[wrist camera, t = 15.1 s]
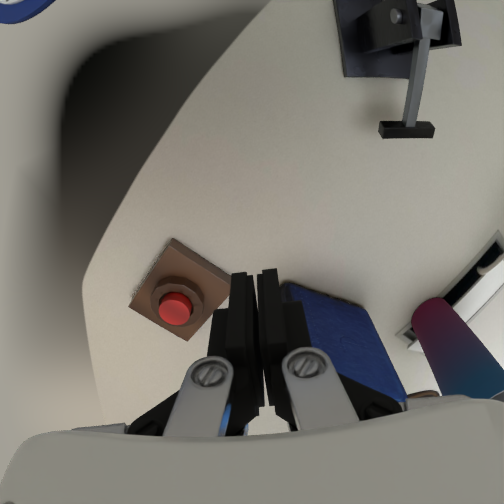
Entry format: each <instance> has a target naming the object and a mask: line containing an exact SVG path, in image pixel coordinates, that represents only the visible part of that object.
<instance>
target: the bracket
mask: <svg viewBox="0 0 504 504" xmlns="http://www.w3.org/2000/svg"><path fill="white" fill-rule="evenodd" d="M333 3H334V9H335V14H336V20H337V27H338V33H339V40H340V47H341V54H342V62H343V70H344V77H381V78H404V79H409V77H410V71H411V63H412V56H413V47H414V41H417V40H421V39H423V35H422V29H421V23H420V17H419V11H418V6H417V1H416V0H333ZM426 5H430V6H432V7H434V8H436V9H438V10H440V11H442V12H443V20H442V29H441V36H440V40H436V39H430V46H429V50H434V49H441V48H448V47H456V46H462V43H461V36H460V30H459V24H458V18H457V13H456V8H455V3H454V0H437V1H434V2H432V3H429V4H426Z"/></svg>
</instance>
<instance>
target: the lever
mask: <svg viewBox="0 0 504 504" xmlns="http://www.w3.org/2000/svg"><path fill="white" fill-rule="evenodd" d="M417 6H418V11H419V17H420V23H421V29H422V35H423V39H421V40H417V41H414V47H413V56H412V63H411V71H410V77H409V84H408V90H407V96H406V102H405V108H404V113H403V119H402V121H380V123H379V130H378V132H379V133H380V135H381V137H382V138H383V139H389V138H433V135H434V131H435V127H434V126H433V125H432V124H431V122H428V121H416V120H417V115H418V110H419V105H420V100H421V95H422V90H423V84H424V79H425V73H426V67H427V60H428V54H429V46H430V39H436V40H440V36H441V29H442V20H443V12H442V11H440V10H438V9H436V8H434V7H432V6H430V5H426V4H421V3H417Z"/></svg>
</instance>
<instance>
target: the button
mask: <svg viewBox="0 0 504 504" xmlns="http://www.w3.org/2000/svg"><path fill="white" fill-rule="evenodd" d="M191 309H192V305H191V302H190V300H189V299H188V298H187V297H186V296H185V295H183V294H181V293H177V292H171V293H168V294H166V295H165V296H164V297H163V299H162V301H161V304H160V306H159V314H160V316H161V318H162V319H163V320H164V321H166V322H167V323H169V324H173V325H181V324H184V323H185V322H187V321H188V319H189V317H190V313H191Z"/></svg>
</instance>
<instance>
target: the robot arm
mask: <svg viewBox="0 0 504 504" xmlns="http://www.w3.org/2000/svg"><path fill="white" fill-rule="evenodd" d="M21 1H24V0H0V3H3V4H9V5H12V4H17V3H19V2H21ZM257 291H258V307H257V301H256V294H255V288H254V281H253V275H248V276H247V272H240V273H232V275H231V285H230V296H229V307H228V308H225V309H215V310H214V312H213V318H212V324H211V331H210V338H209V345H208V352H207V357H204V358H201V359H199V360H197V361H195V362H194V363H193V364H192V365H191V366H190V367H189V369H188V370H187V372H186V375H185V378H184V380H183V383H182V385H181V388H180V390H179V391H177V392H176V393H174V394H173V395H171V396H170V397H168V398H167V399H166V400H164V401H163V402H161V403H160V404H158V405H157V406H155V407H154V408H152V409H151V410H149V411H148V412H146V413H145V414H143V415H142V416H140V417H139V418H137V419H136V420H135V421H134V422H132V424H131V425H128V426H127V425H126V424H125V423H119V424H111V425H102V426H92V427H81V428H75V429H72V430H64V431H53V432H48V433H43V434H39V435H36V436H33V437H31V438H28V439H27V440H26V441H24V442H23V443H22V444H21V445H20V447H19V448H18V449H17V451H16V453H15V454H14V456H13V458H12V459H11V461H10V463H9V465H8V468H7V470H6V472H5V474H4V477H3V479H2V482H1V484H0V504H504V402H501V401H497V400H491V399H472V398H470V397H468V396H466V395H448V396H437V397H424V398H406V400H405V402H397V401H396V400H395V399H393V398H392V397H390V396H387V395H385V394H383V393H381V392H379V391H376V390H374V389H372V388H370V387H368V386H365V385H363V384H361V383H359V382H357V381H355V380H353V379H350V378H348V377H346V376H344V375H342V374H340V373H338V372H336V370H335V368H334V366H333V364H332V362H331V360H330V358H329V356H328V355H327V354H326V353H325V352H324V351H322V350H320V349H317V348H314V347H312V345H311V340H310V335H309V331H308V326H307V322H306V317H305V313H304V308H303V304H302V301H301V300H297V301H289V302H281V295H280V288H279V281H278V274H277V268H275V269H266V270H262V274H257ZM263 370H264V376H265V382H266V388H267V395H268V401H269V406H275V412H276V415H278V416H279V417H281V418H282V419H284V420H285V421H287V424H288V429H289V432H286V433H276V434H264V435H250V436H247V435H248V423H249V422H250V421H251V420H252V419H254V418H255V417H256V416H259V407H264V406H265V402H264V378H263Z"/></svg>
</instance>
